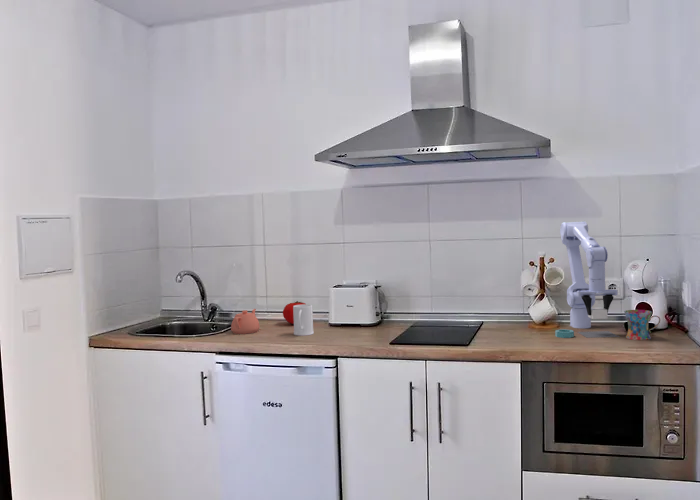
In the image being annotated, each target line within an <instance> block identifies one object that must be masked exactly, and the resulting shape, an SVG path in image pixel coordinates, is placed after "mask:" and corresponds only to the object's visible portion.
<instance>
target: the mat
mask: <svg viewBox="0 0 700 500" xmlns="http://www.w3.org/2000/svg"><path fill="white" fill-rule="evenodd" d="M577 333H578V334H580V335H581V336H583V337H584V338H587V339H590V338H597V339H598V338H620V336H619V335H617V334H615V333H613V332H611V331H610V330H603V331H602V330H601V331H599V330H598V331H596V330H595V331H577Z"/></svg>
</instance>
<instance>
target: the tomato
mask: <svg viewBox="0 0 700 500" xmlns="http://www.w3.org/2000/svg"><path fill="white" fill-rule="evenodd" d="M302 304H306V303H305V302H302V301H298V300H297V301H294V302H289V303H288V304H286V305H285V306H284V307H283V310H282V316H283V318H284V320H285V321H286V322H287V323H288V324H292V325H294V315H293V306H295V305H302Z"/></svg>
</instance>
